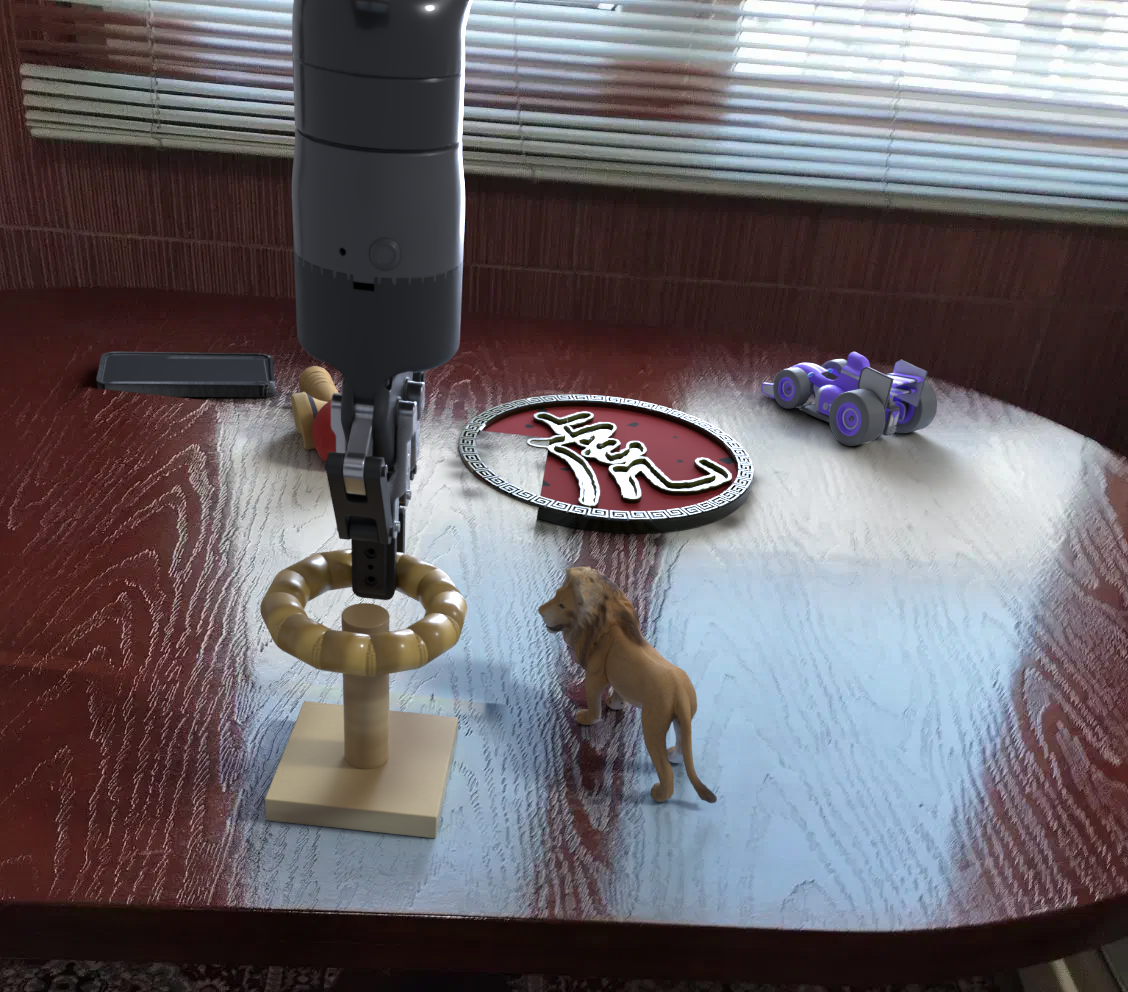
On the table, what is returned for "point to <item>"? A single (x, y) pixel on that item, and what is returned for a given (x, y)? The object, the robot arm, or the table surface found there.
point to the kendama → (315, 410)
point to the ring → (357, 649)
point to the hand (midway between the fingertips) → (378, 581)
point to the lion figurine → (626, 670)
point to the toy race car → (858, 397)
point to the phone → (188, 374)
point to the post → (364, 756)
